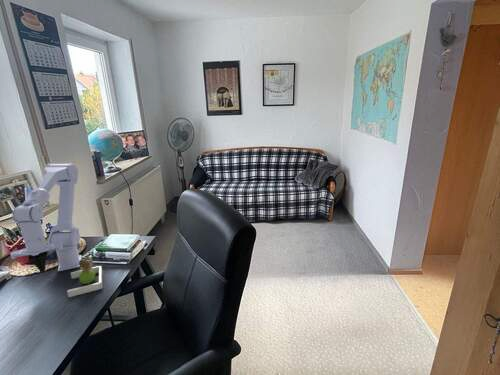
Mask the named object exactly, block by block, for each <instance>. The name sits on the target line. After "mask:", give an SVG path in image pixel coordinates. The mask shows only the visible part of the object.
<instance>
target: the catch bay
mask: <svg viewBox="0 0 500 375" xmlns="http://www.w3.org/2000/svg"><path fill="white" fill-rule="evenodd" d="M91 270H93V271H94V272H95V274H97V273H98V282H95V283H92V284H91V283H89V284H88V285H87V284H86V285H84V286H79V287H75V288H72V289H68V290H67V291H66V292H67V296H68V297H67V298H72V297H75V296H78V295H83V294H87V293H90V292H94V291H98V290H102V289H103V268H102V265H98V266H97V265H96V266H92V269H91ZM82 271H83V270H81V269H80V270H75V271H71V272H70V277H71V279H72V280H73V279H77V278H79V275H80V273H81V272H82Z"/></svg>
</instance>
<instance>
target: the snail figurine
mask: <svg viewBox="0 0 500 375" xmlns="http://www.w3.org/2000/svg"><path fill="white" fill-rule="evenodd" d="M93 261H94V260H93V256H90V257H89V258H88V260H87V259H85V258H81V260H80V261H79V265H80V267H79V269H80V270H83V271H82V272H81V273H80V275H79V277H78V279H79V282H80V283H81V284H86V285H87V284H88V285H89V284H91V283H92V282H93V281H94V280H95V279H96V273H95V272H94V271H93V270H91V269H92V267H93Z"/></svg>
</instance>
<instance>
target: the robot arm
mask: <svg viewBox="0 0 500 375" xmlns="http://www.w3.org/2000/svg"><path fill="white" fill-rule="evenodd" d="M43 170H44V171H43V172H44V176H43V179H42V180H41V182H40V183H39V186H38V187H37V188H34V189H32V190H31V191H30V193H29V194H28V195H27V197H26V198H25V200H24V201H23V202H22V204H21V205H18V206H16V207H15V208H14V209H13V211H12V217H11V219H12V221H13V222H14V223H15V224H16V225H17V227H18V228H20V229H19V230H20V231H21V234H22V235H21V236H22V238H23V241H24V245H25V247H24V248H22V249H19V250H15V251H11V253H10V259H11V260H15V259H18V258H22V257H26V256H28V258H27V259H28V261H29V262H31V263H32V264H33V265H34V266H36V268H37V269H38V271H39V272H41V273H42V272H45V271H46V269H47V268H46V262H47V256H48V253H49V252H51V251H56V256H57V260H58V268H57V272H63V271H67V270H72V269H76V268H80V267H81V266H80V265H79V261H80V260H81V259H82V255H81V254H79V251H78V245H79V243H80V240H81V234H80V229H79V227H77V226H76V225H74V224H73V215H74V199H75V198H74V197H75V186H76V184H78V177H79V175H78V174H79V170H78V168H77V166H76V164H74V163H71V162H70V163H47V164H46V166H45V167H44V169H43ZM55 185H58V187H59V198H58V210H57V211H58V212H57V224H56V225H54V226H53V227H51V229H50V233H49V235H48V238H47V241H48V242H47V241H46V237H45V232H44V229H43V225H42V222H41V219H43V215H44V211H45V210H44V209H45V208H44V207H45V205H46V204H47V202H48V201H49V200H50V193H49V192H51V190H52V189H53V188H54V187H55Z"/></svg>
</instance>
